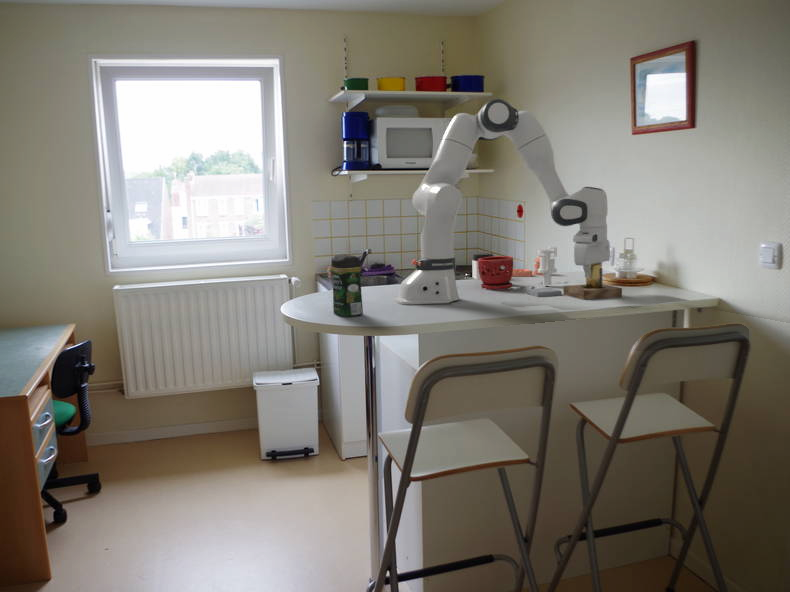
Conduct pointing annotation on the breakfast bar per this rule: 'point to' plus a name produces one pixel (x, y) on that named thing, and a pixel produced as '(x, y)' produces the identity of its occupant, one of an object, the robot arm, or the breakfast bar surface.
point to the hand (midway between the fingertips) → (592, 276)
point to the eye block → (592, 292)
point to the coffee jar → (347, 286)
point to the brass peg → (595, 277)
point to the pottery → (527, 272)
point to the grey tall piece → (547, 264)
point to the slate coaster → (544, 292)
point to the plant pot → (496, 272)
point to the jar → (475, 263)
